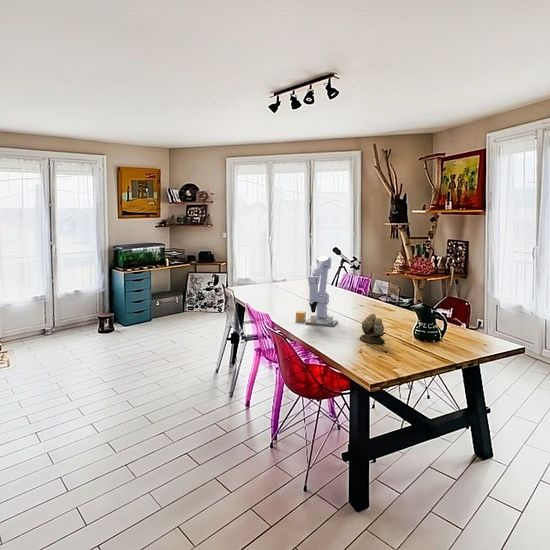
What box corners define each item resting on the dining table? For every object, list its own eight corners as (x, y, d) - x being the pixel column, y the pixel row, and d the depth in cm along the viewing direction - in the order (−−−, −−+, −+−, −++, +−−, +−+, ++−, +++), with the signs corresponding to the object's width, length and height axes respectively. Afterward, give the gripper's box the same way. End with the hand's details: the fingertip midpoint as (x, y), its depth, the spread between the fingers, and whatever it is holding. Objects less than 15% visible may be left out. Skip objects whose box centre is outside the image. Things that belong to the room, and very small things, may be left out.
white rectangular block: (311, 320, 305) (311, 314, 304) (315, 320, 304) (316, 314, 303) (310, 321, 302) (310, 315, 302) (314, 321, 301) (314, 315, 301)
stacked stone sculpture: (391, 343, 257) (392, 315, 254) (377, 346, 251) (378, 318, 248) (368, 335, 272) (369, 309, 269) (354, 339, 265) (355, 311, 263)
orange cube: (298, 319, 313) (298, 311, 312) (305, 319, 311) (305, 311, 310) (295, 321, 308) (295, 312, 307) (303, 321, 306) (303, 313, 305)
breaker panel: (310, 320, 310) (310, 317, 310) (337, 322, 303) (337, 319, 303) (305, 324, 299) (305, 320, 299) (334, 326, 292) (334, 323, 292)
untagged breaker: (328, 321, 301) (328, 315, 300) (332, 322, 300) (333, 316, 299) (327, 322, 298) (327, 316, 297) (331, 323, 297) (332, 317, 296)
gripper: (310, 290, 308) (310, 309, 310) (305, 294, 295) (304, 314, 297) (320, 291, 306) (320, 310, 308) (315, 295, 292) (314, 314, 294)
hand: (313, 312), depth 302 cm, fingers closed
